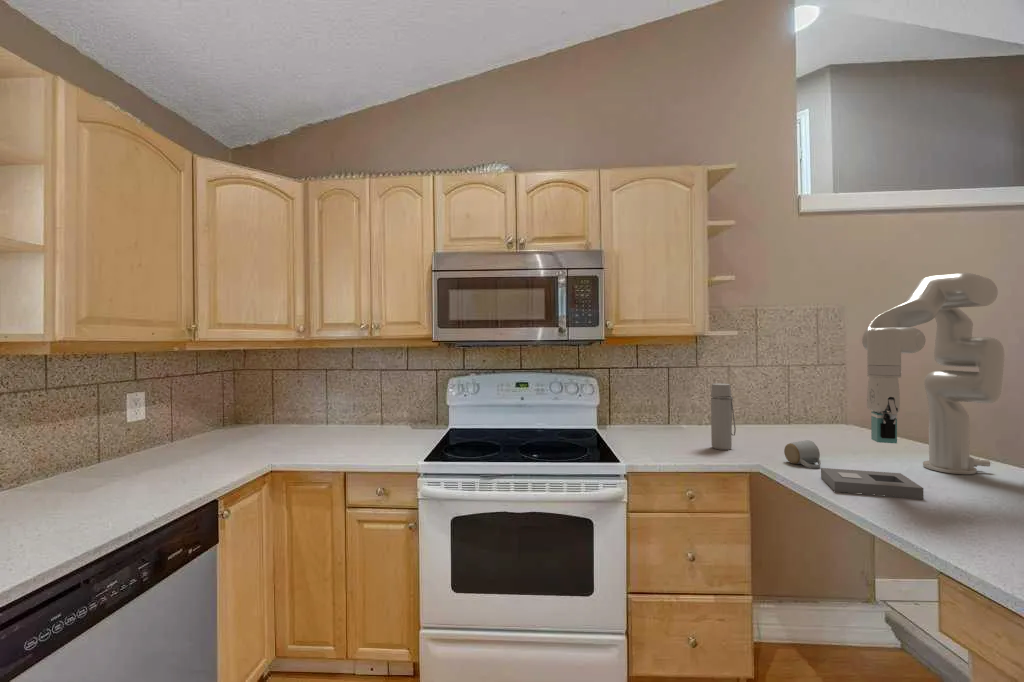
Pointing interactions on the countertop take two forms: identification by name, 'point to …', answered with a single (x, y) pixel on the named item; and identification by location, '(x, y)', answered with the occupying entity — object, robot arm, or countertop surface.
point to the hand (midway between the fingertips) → (884, 435)
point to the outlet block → (871, 483)
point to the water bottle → (721, 416)
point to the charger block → (876, 429)
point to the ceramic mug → (803, 453)
